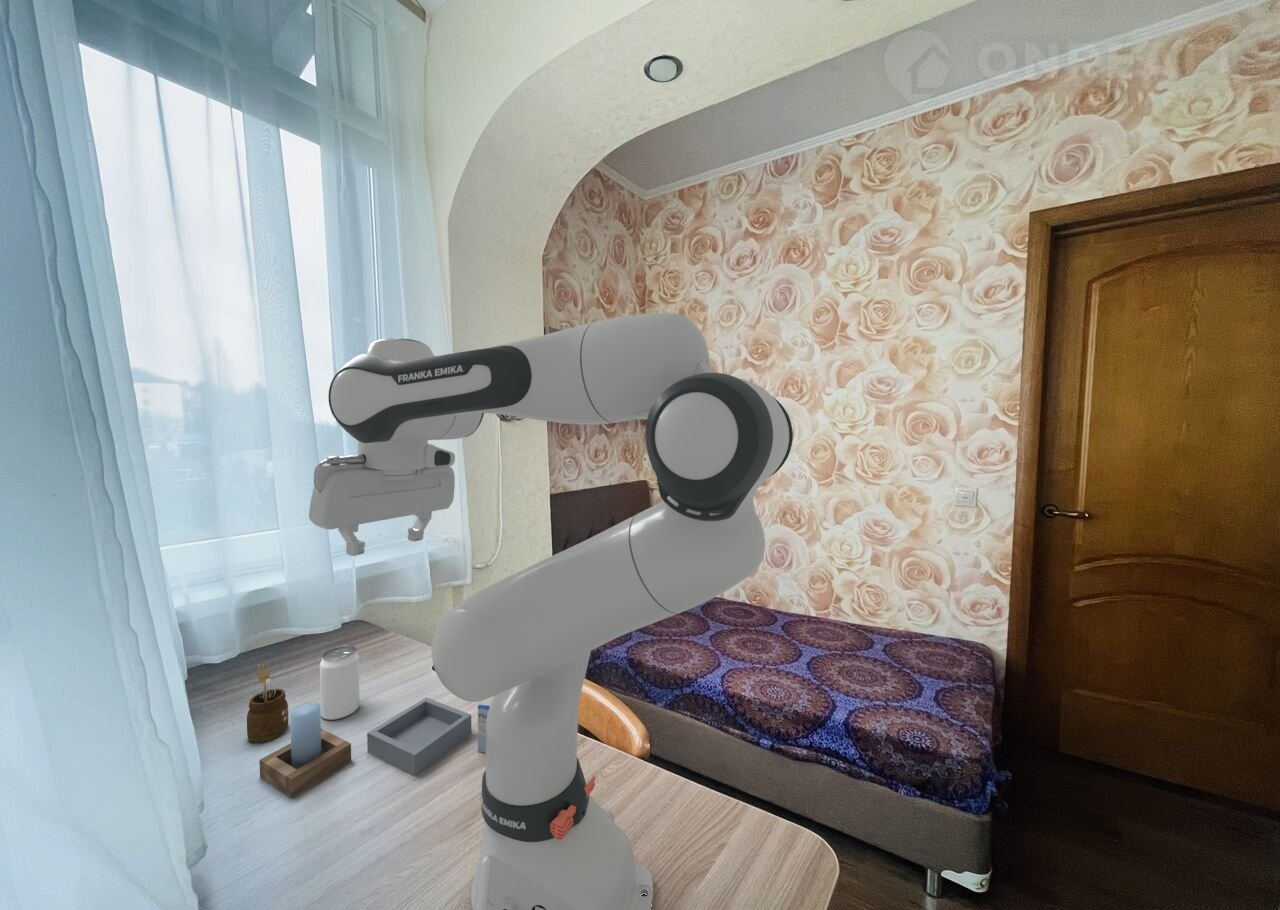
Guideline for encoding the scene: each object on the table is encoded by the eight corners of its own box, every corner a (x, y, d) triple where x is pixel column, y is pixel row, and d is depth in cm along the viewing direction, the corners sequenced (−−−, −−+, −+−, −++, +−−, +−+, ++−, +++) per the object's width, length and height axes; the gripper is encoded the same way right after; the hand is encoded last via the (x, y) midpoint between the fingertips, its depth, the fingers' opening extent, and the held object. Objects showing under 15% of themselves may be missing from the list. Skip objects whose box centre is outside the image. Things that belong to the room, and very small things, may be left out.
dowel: (326, 765, 76) (325, 707, 76) (300, 781, 73) (299, 720, 72) (312, 757, 78) (311, 700, 78) (286, 772, 75) (284, 713, 74)
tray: (471, 732, 85) (471, 714, 85) (414, 775, 74) (414, 755, 74) (426, 714, 90) (426, 697, 90) (367, 752, 80) (367, 732, 79)
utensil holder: (250, 748, 80) (248, 682, 79) (244, 732, 84) (242, 669, 84) (292, 732, 84) (290, 669, 84) (284, 718, 89) (282, 657, 88)
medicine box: (499, 724, 88) (499, 680, 87) (521, 728, 87) (521, 683, 86) (476, 752, 80) (476, 704, 80) (500, 756, 79) (500, 708, 79)
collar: (351, 760, 78) (350, 743, 77) (291, 798, 70) (291, 779, 69) (319, 743, 82) (319, 727, 81) (259, 777, 73) (259, 759, 73)
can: (340, 723, 87) (339, 662, 87) (312, 718, 89) (311, 658, 88) (367, 703, 94) (366, 646, 93) (340, 699, 95) (339, 643, 94)
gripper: (330, 461, 55) (325, 571, 57) (463, 454, 74) (457, 537, 75) (300, 453, 58) (296, 558, 59) (436, 448, 76) (430, 529, 78)
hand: (387, 546), depth 67 cm, fingers open, 8 cm apart
